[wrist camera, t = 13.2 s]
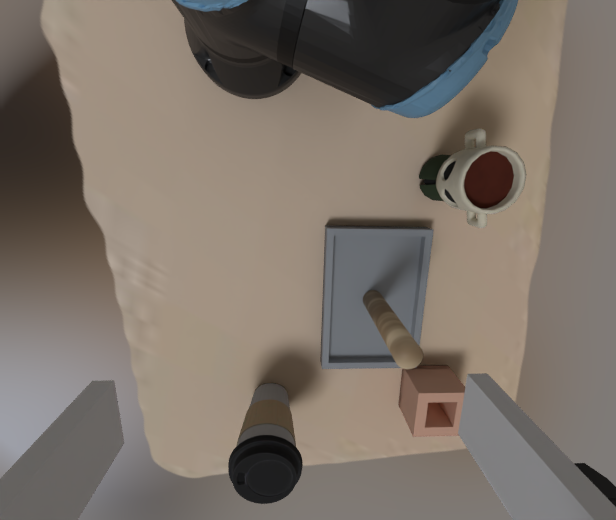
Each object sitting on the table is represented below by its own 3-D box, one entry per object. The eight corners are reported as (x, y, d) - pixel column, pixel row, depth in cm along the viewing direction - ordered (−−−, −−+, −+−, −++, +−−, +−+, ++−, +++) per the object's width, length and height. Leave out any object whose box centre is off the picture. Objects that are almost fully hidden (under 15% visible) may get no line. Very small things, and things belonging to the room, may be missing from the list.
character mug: (411, 142, 45) (457, 131, 33) (462, 133, 45) (528, 119, 33) (417, 219, 48) (461, 237, 36) (464, 212, 48) (525, 226, 36)
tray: (325, 225, 48) (327, 228, 45) (426, 226, 49) (433, 229, 46) (320, 360, 53) (321, 368, 51) (411, 359, 54) (416, 367, 52)
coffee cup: (232, 386, 54) (211, 465, 39) (285, 364, 53) (283, 436, 39) (258, 429, 56) (246, 518, 42) (308, 408, 56) (314, 492, 41)
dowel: (363, 289, 50) (396, 344, 34) (383, 290, 50) (424, 343, 34) (362, 308, 50) (393, 369, 35) (381, 308, 51) (421, 369, 35)
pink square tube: (402, 365, 55) (418, 393, 48) (447, 365, 55) (469, 392, 48) (398, 404, 57) (413, 436, 50) (441, 404, 57) (462, 435, 50)
